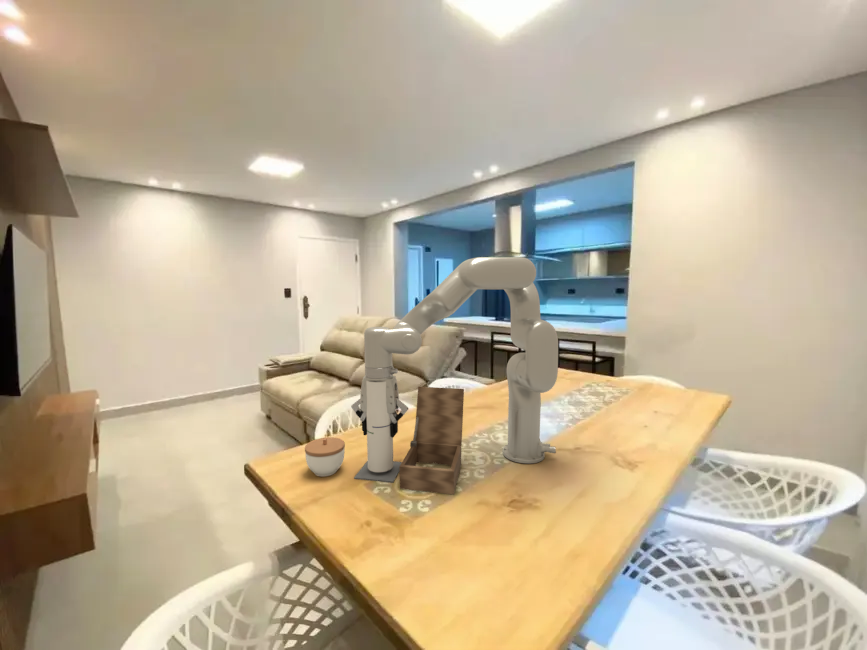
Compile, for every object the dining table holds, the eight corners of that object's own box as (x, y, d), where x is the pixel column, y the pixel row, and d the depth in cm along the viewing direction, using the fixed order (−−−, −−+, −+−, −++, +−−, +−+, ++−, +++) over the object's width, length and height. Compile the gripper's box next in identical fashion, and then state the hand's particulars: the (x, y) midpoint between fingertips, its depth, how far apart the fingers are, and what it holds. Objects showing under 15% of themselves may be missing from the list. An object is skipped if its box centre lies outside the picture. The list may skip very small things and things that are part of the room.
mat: (404, 463, 109) (404, 462, 109) (393, 482, 98) (393, 481, 98) (368, 460, 111) (368, 459, 111) (354, 478, 100) (354, 477, 100)
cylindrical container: (388, 473, 100) (387, 382, 98) (363, 470, 102) (361, 381, 99) (396, 461, 107) (395, 376, 105) (373, 459, 109) (371, 375, 106)
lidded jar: (304, 466, 107) (303, 435, 106) (341, 459, 112) (341, 429, 111) (307, 484, 98) (306, 450, 97) (348, 476, 102) (347, 443, 101)
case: (463, 455, 114) (464, 388, 112) (453, 494, 93) (454, 412, 91) (418, 451, 117) (417, 385, 115) (398, 488, 95) (397, 408, 93)
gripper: (413, 370, 104) (413, 431, 106) (354, 367, 107) (355, 427, 109) (406, 376, 97) (406, 442, 98) (343, 373, 100) (345, 437, 102)
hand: (380, 434), depth 104 cm, fingers closed on cylindrical container, 7 cm apart
